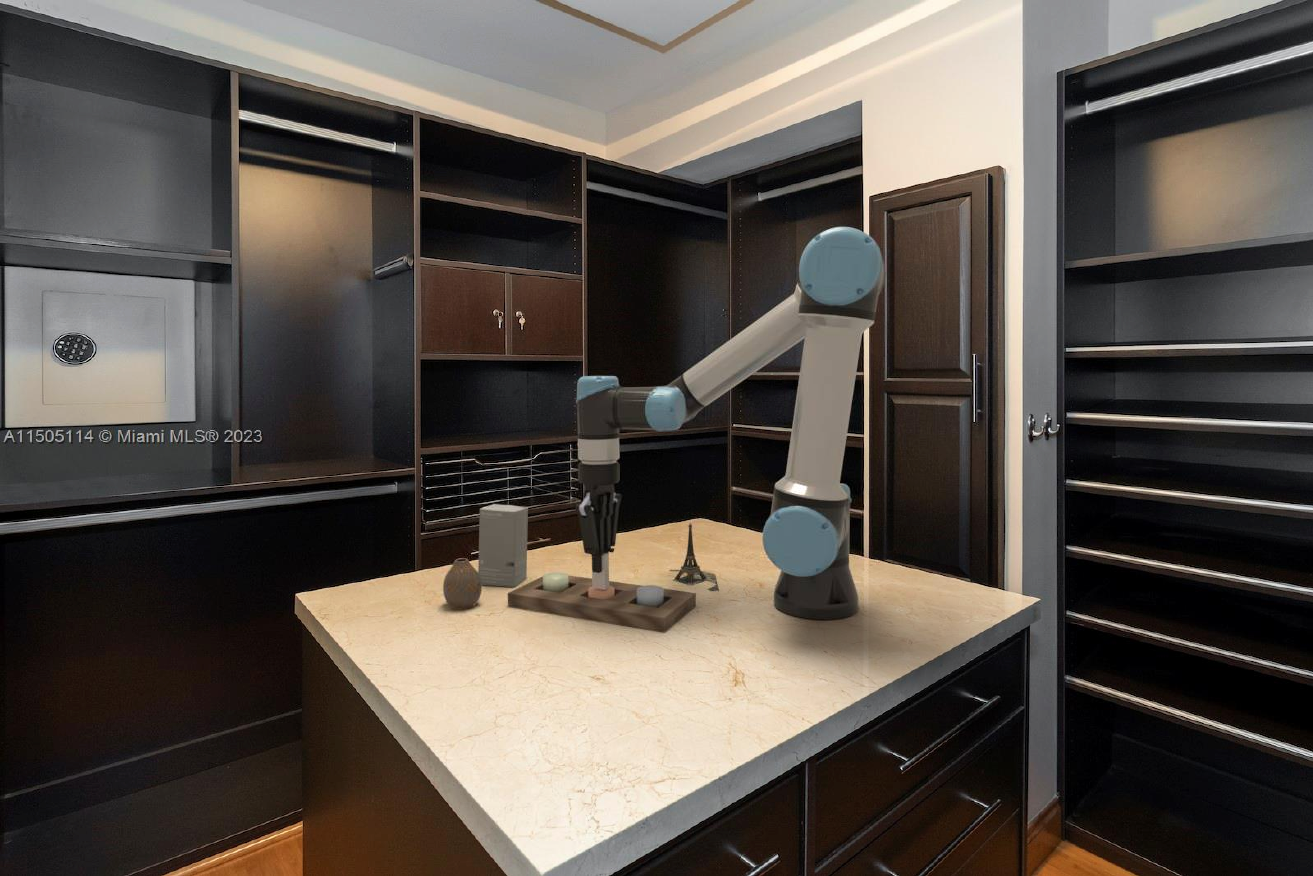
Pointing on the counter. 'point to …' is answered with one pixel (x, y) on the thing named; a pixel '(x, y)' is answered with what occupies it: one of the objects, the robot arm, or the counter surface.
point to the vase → (462, 585)
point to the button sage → (555, 582)
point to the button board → (604, 604)
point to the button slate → (650, 596)
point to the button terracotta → (601, 593)
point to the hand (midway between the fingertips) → (600, 587)
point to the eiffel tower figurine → (694, 569)
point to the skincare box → (503, 545)
